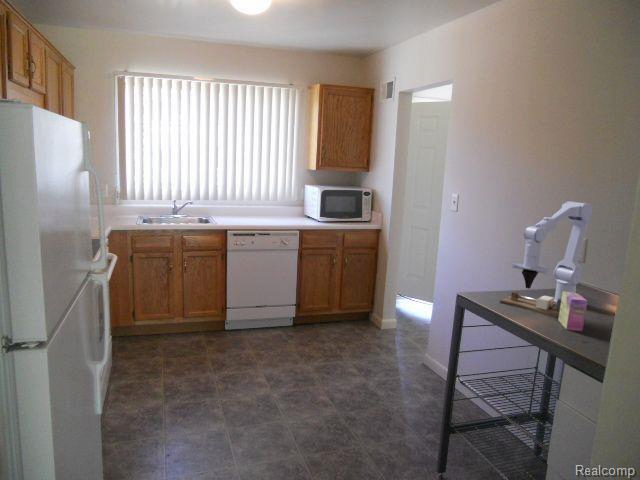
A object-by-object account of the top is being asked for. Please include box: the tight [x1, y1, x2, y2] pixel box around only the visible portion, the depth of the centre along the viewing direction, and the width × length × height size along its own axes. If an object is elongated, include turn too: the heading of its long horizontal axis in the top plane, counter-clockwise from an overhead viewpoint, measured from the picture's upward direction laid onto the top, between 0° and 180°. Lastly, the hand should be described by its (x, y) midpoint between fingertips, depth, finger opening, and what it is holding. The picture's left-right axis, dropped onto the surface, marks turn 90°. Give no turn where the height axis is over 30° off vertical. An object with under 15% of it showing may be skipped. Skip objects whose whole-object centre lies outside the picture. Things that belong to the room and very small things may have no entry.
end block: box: [556, 297, 562, 312], centre depth 192 cm, size 4×3×5 cm
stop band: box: [549, 300, 555, 308], centre depth 195 cm, size 3×1×3 cm, turn 138°
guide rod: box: [517, 294, 557, 307], centre depth 198 cm, size 1×19×1 cm, turn 48°
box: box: [557, 291, 588, 332], centre depth 177 cm, size 10×6×12 cm, turn 168°
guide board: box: [499, 290, 559, 318], centre depth 199 cm, size 11×26×4 cm, turn 48°
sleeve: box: [536, 295, 555, 310], centre depth 196 cm, size 9×4×3 cm, turn 138°
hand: (528, 287), depth 197 cm, fingers closed
